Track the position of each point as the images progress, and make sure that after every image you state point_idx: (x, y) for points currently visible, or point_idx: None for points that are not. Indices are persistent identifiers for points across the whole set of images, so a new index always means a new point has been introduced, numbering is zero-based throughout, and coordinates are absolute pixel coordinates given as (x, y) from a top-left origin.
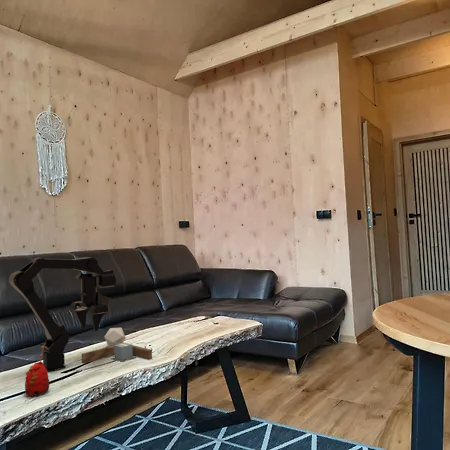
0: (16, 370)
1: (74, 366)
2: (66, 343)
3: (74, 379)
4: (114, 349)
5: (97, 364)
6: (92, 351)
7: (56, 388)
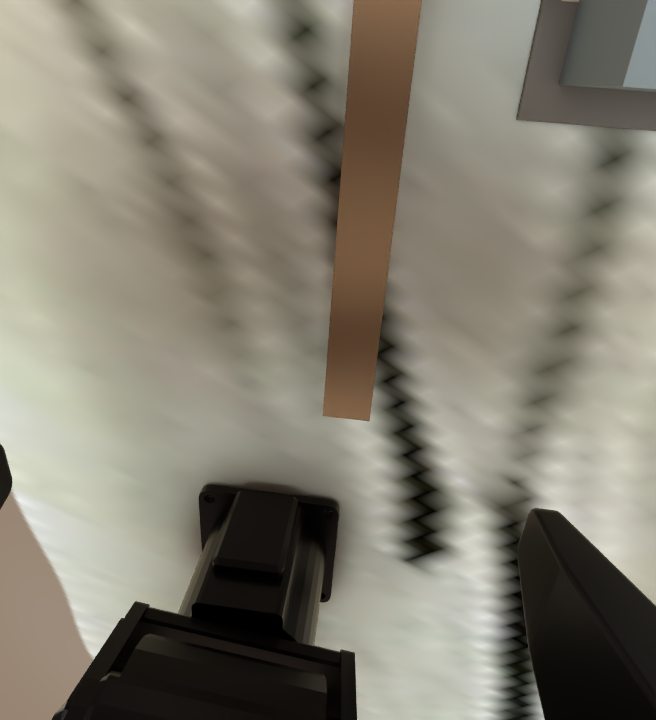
0: (109, 634)
1: (368, 452)
2: (324, 690)
3: None
4: (602, 86)
5: (522, 328)
6: (359, 307)
7: None
